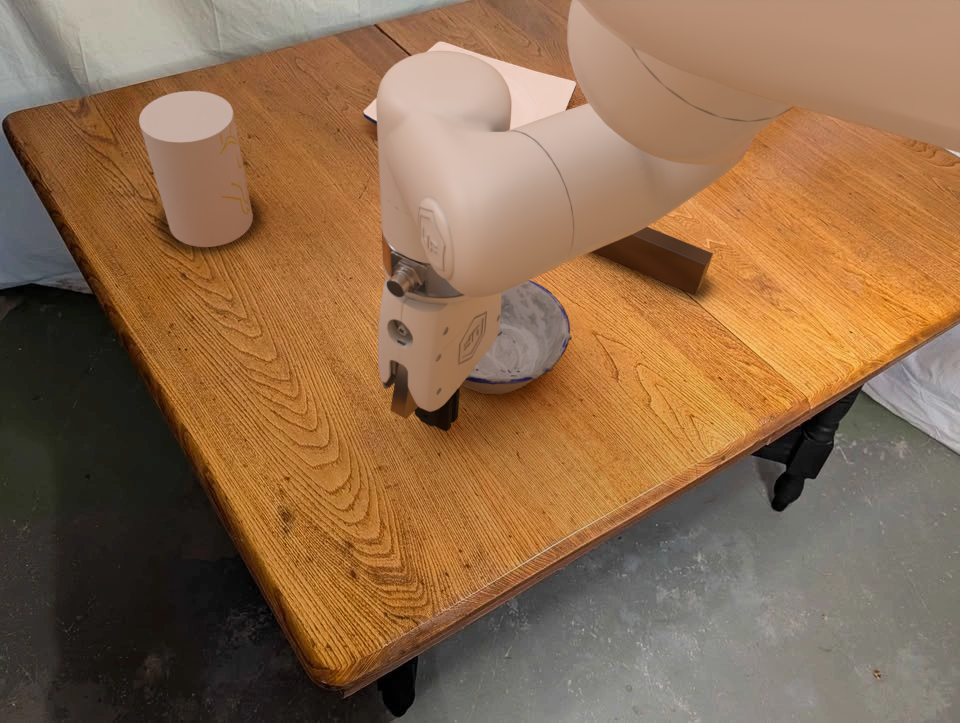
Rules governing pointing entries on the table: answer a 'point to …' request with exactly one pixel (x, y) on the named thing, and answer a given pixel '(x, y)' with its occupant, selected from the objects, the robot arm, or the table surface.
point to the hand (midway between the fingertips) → (436, 417)
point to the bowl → (522, 341)
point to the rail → (661, 258)
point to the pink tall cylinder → (198, 167)
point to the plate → (517, 90)
